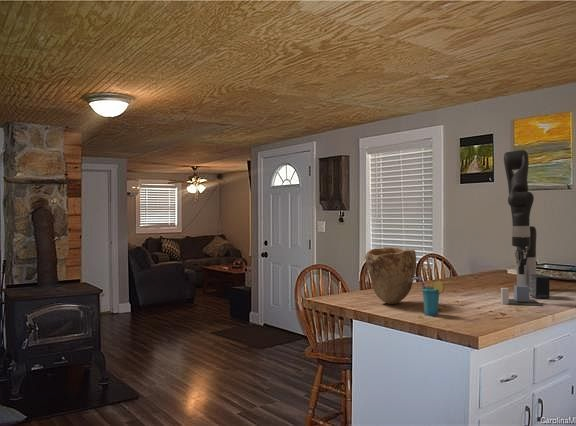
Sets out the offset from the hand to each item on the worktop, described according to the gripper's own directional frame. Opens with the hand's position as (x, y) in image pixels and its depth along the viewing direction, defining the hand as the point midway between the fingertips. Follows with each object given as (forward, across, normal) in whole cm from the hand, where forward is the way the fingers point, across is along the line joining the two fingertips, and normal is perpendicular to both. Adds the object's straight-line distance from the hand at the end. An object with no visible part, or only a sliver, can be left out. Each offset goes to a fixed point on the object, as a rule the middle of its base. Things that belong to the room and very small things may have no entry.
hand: (521, 274), depth 229 cm
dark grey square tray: (+13, 0, 0) cm, 13 cm away
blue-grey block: (+12, 0, 0) cm, 12 cm away
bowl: (+13, +10, -58) cm, 60 cm away
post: (+13, +4, -8) cm, 16 cm away
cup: (+13, +32, -43) cm, 55 cm away
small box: (+13, -16, +12) cm, 24 cm away
